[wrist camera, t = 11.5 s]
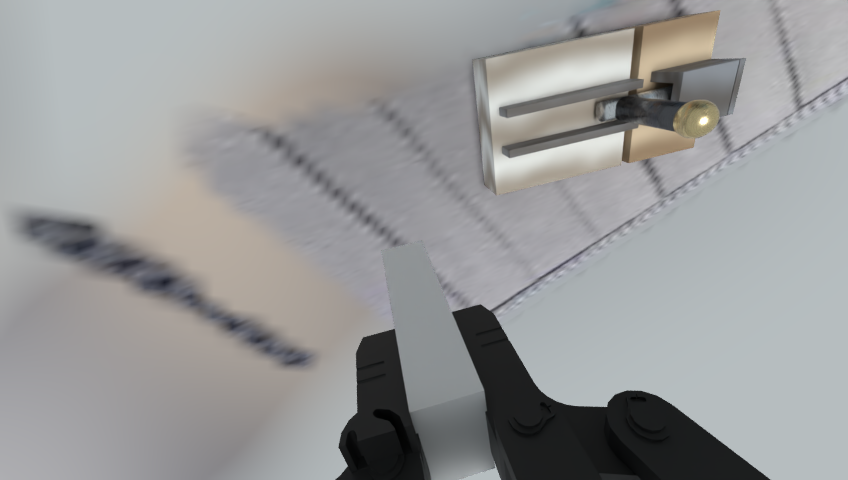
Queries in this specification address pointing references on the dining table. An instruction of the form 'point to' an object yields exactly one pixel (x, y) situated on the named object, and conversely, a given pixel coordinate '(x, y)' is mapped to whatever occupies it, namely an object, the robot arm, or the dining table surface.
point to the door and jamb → (592, 99)
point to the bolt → (662, 112)
